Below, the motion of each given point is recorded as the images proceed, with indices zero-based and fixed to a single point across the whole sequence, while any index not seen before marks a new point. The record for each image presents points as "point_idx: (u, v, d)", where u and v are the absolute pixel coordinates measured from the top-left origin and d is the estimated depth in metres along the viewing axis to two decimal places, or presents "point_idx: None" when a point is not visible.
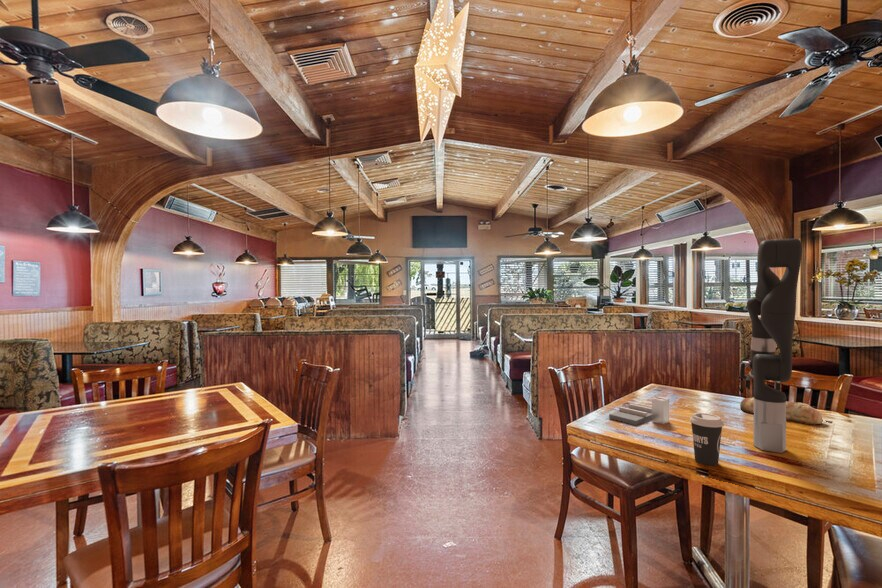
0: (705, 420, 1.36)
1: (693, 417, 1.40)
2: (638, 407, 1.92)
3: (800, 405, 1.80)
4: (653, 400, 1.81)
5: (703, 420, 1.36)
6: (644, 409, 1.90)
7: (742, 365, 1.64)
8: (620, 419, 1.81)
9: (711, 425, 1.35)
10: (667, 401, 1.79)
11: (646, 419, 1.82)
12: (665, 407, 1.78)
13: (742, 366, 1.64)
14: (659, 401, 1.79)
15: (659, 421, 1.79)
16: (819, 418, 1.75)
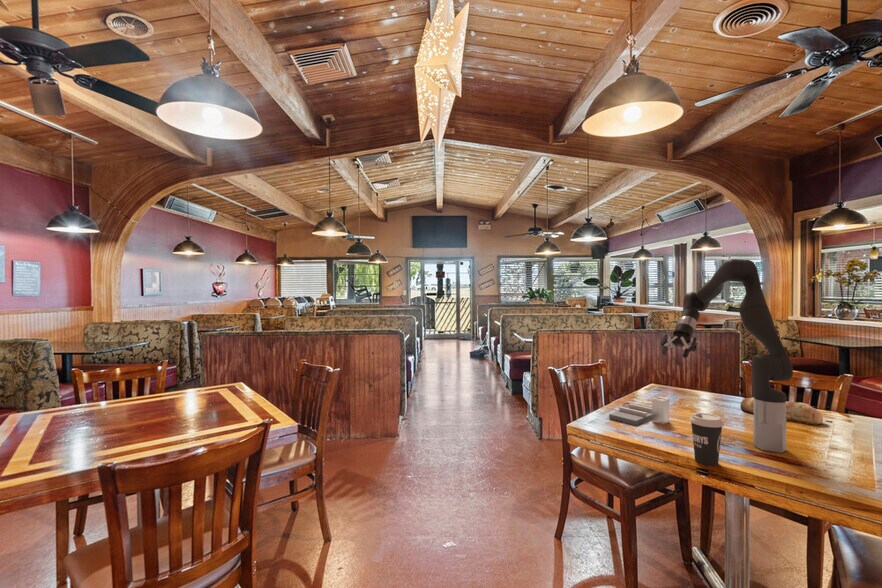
0: (705, 420, 1.36)
1: (693, 417, 1.40)
2: (638, 407, 1.92)
3: (800, 405, 1.80)
4: (653, 400, 1.81)
5: (703, 420, 1.36)
6: (644, 409, 1.90)
7: (665, 336, 1.96)
8: (620, 419, 1.81)
9: (711, 425, 1.35)
10: (667, 401, 1.79)
11: (646, 419, 1.82)
12: (665, 407, 1.78)
13: (664, 336, 1.96)
14: (659, 401, 1.79)
15: (659, 421, 1.79)
16: (819, 418, 1.75)
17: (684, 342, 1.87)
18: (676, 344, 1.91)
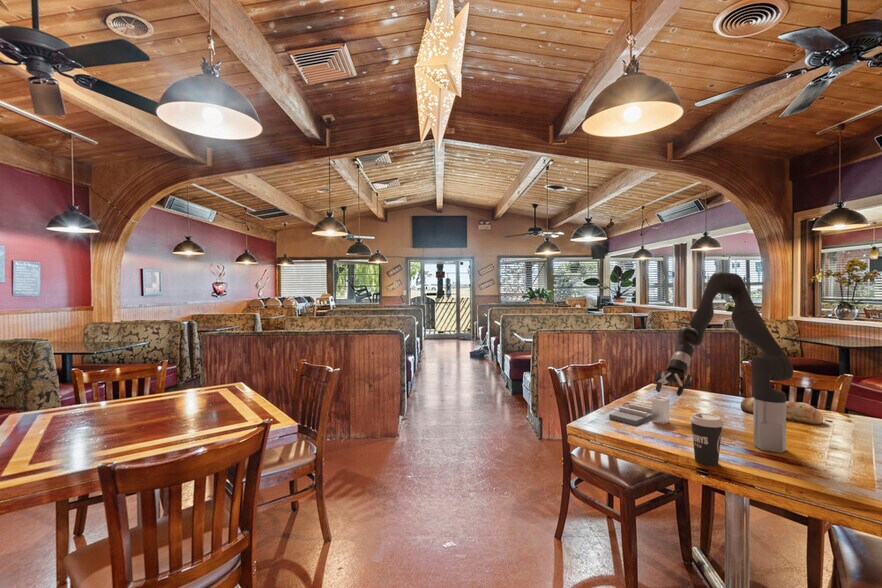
0: (705, 420, 1.36)
1: (693, 417, 1.40)
2: (638, 407, 1.92)
3: (801, 405, 1.80)
4: (653, 400, 1.81)
5: (703, 420, 1.36)
6: (644, 409, 1.90)
7: (658, 371, 1.93)
8: (620, 419, 1.81)
9: (711, 425, 1.35)
10: (667, 401, 1.79)
11: (646, 419, 1.82)
12: (665, 407, 1.78)
13: (658, 372, 1.93)
14: (659, 401, 1.79)
15: (659, 421, 1.79)
16: (820, 417, 1.76)
17: (678, 379, 1.85)
18: (670, 381, 1.88)
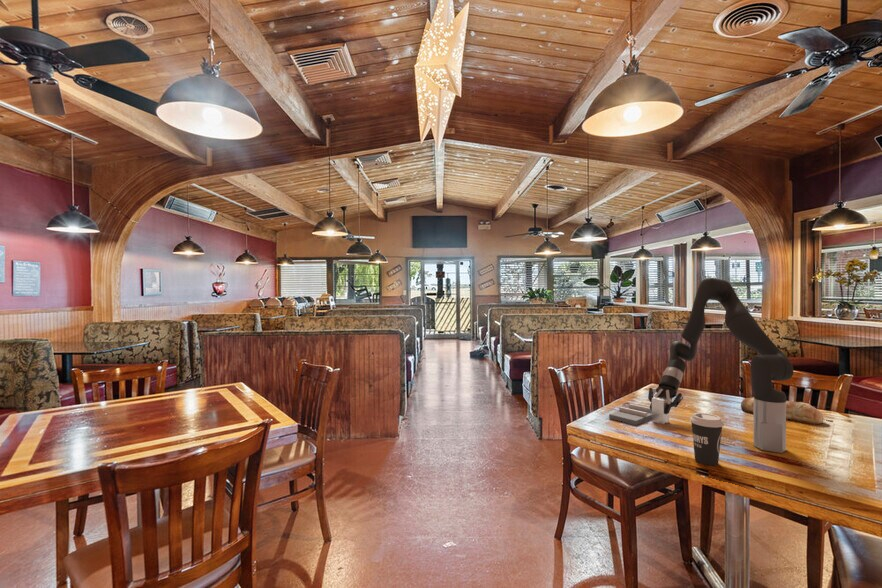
0: (705, 420, 1.36)
1: (693, 417, 1.40)
2: (638, 407, 1.92)
3: (801, 405, 1.80)
4: (653, 400, 1.81)
5: (703, 420, 1.36)
6: (644, 409, 1.90)
7: (650, 389, 1.88)
8: (620, 419, 1.81)
9: (711, 425, 1.35)
10: None
11: (646, 419, 1.82)
12: None
13: (650, 390, 1.88)
14: (659, 401, 1.79)
15: (659, 421, 1.79)
16: (820, 417, 1.76)
17: (667, 396, 1.80)
18: None
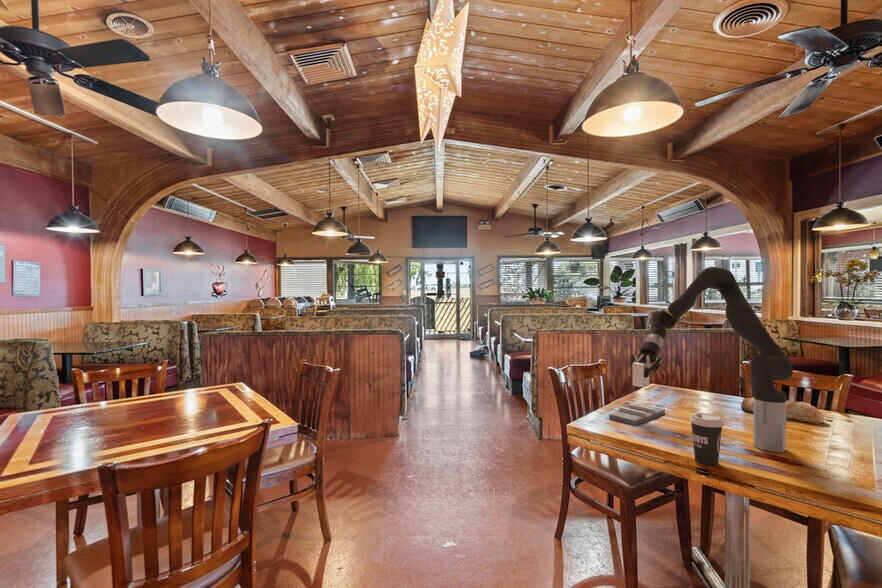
0: (705, 420, 1.36)
1: (693, 417, 1.40)
2: (638, 407, 1.92)
3: (802, 404, 1.81)
4: (634, 365, 1.88)
5: (703, 420, 1.36)
6: (644, 409, 1.90)
7: (631, 355, 1.95)
8: (620, 419, 1.81)
9: (711, 425, 1.35)
10: (647, 365, 1.87)
11: (646, 419, 1.82)
12: None
13: (631, 356, 1.95)
14: (639, 365, 1.86)
15: (639, 384, 1.86)
16: (821, 417, 1.76)
17: (648, 361, 1.87)
18: (644, 362, 1.90)
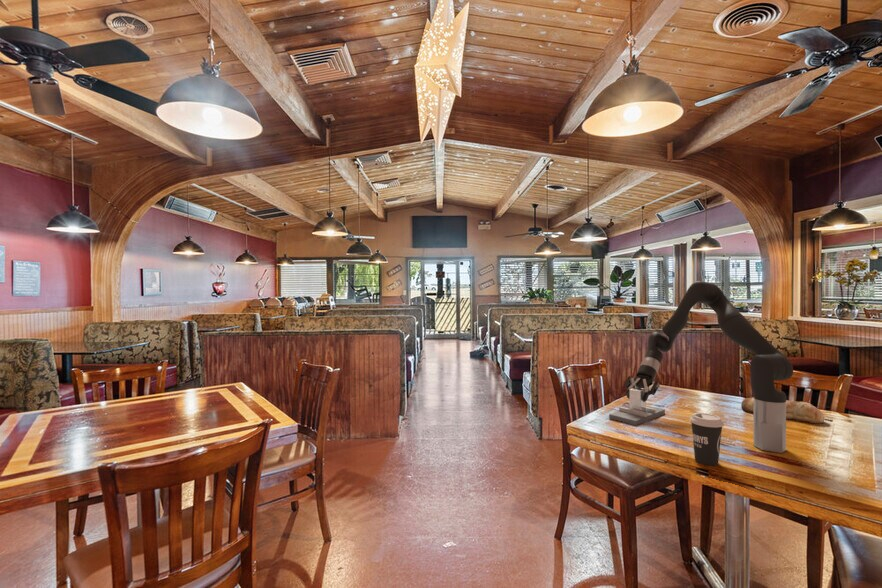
0: (705, 420, 1.36)
1: (693, 417, 1.40)
2: None
3: (802, 404, 1.81)
4: (631, 391, 1.89)
5: (703, 420, 1.36)
6: None
7: (628, 378, 1.96)
8: (620, 419, 1.81)
9: (711, 425, 1.35)
10: None
11: (646, 419, 1.82)
12: None
13: (628, 378, 1.96)
14: (636, 392, 1.87)
15: None
16: (821, 416, 1.77)
17: (645, 385, 1.88)
18: (640, 386, 1.91)
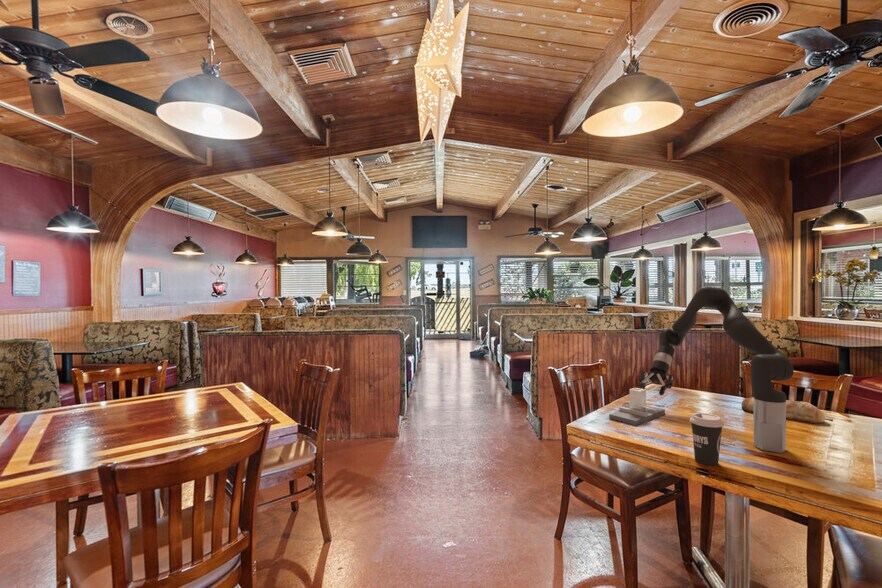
0: (705, 420, 1.36)
1: (693, 417, 1.40)
2: None
3: (803, 404, 1.81)
4: (631, 391, 1.89)
5: (703, 420, 1.36)
6: None
7: (642, 372, 2.03)
8: (620, 419, 1.81)
9: (711, 425, 1.35)
10: (644, 392, 1.87)
11: (646, 419, 1.82)
12: (642, 397, 1.86)
13: (642, 373, 2.03)
14: (636, 392, 1.87)
15: None
16: (822, 416, 1.77)
17: (660, 379, 1.95)
18: (653, 381, 1.98)
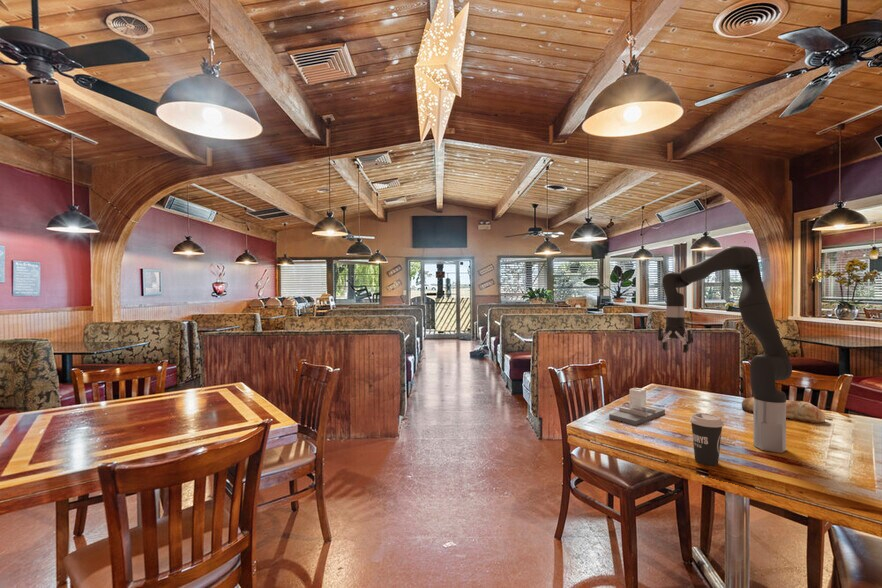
0: (705, 420, 1.36)
1: (693, 417, 1.40)
2: None
3: (803, 404, 1.81)
4: (631, 391, 1.89)
5: (703, 420, 1.36)
6: None
7: (659, 329, 1.98)
8: (620, 419, 1.81)
9: (711, 425, 1.35)
10: (644, 392, 1.87)
11: (646, 419, 1.82)
12: (642, 397, 1.86)
13: (659, 330, 1.98)
14: (636, 392, 1.87)
15: None
16: (822, 416, 1.77)
17: (680, 337, 1.90)
18: (673, 337, 1.94)
